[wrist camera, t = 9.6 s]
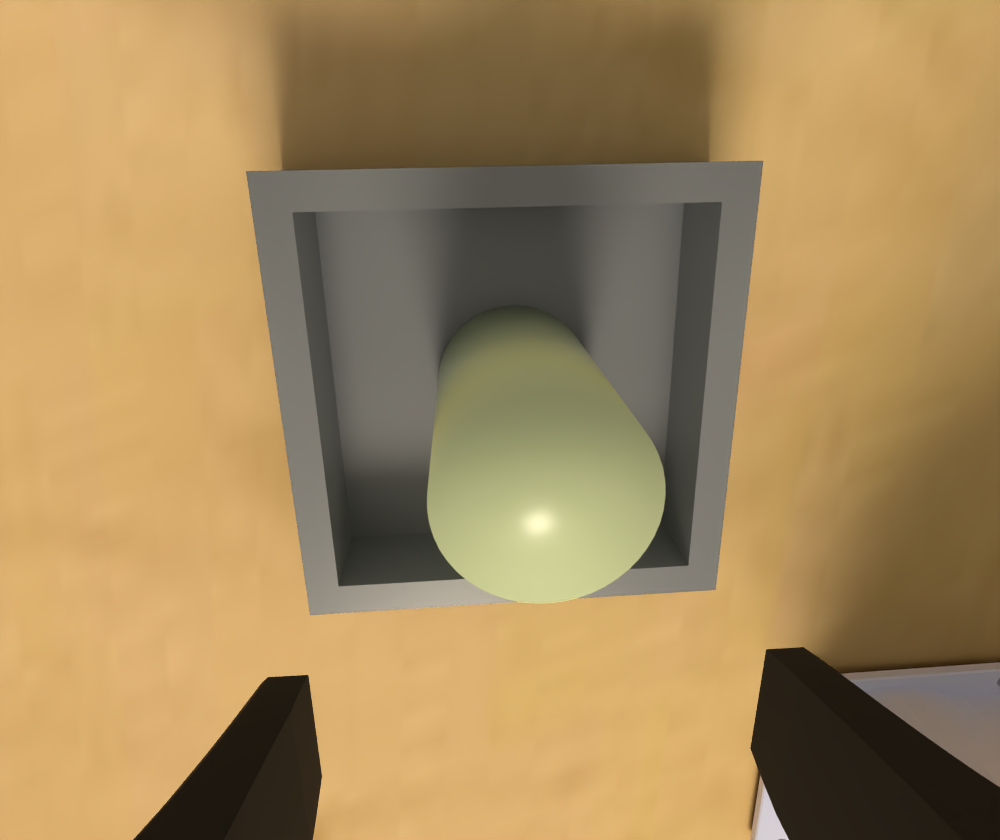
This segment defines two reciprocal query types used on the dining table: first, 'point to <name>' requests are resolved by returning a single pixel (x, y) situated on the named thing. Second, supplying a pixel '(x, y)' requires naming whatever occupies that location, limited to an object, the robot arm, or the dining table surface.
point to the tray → (476, 289)
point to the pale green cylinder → (537, 463)
